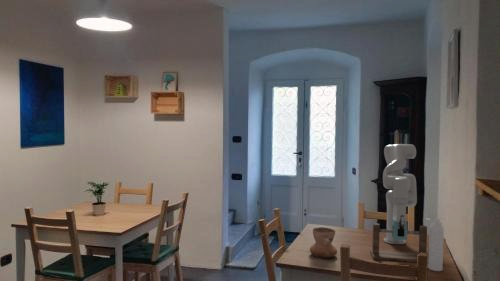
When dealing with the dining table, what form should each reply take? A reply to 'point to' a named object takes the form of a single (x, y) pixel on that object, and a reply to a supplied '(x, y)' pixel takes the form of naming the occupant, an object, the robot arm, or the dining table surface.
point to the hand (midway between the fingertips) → (399, 234)
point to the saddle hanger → (395, 228)
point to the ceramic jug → (323, 243)
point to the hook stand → (396, 255)
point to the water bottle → (435, 245)
